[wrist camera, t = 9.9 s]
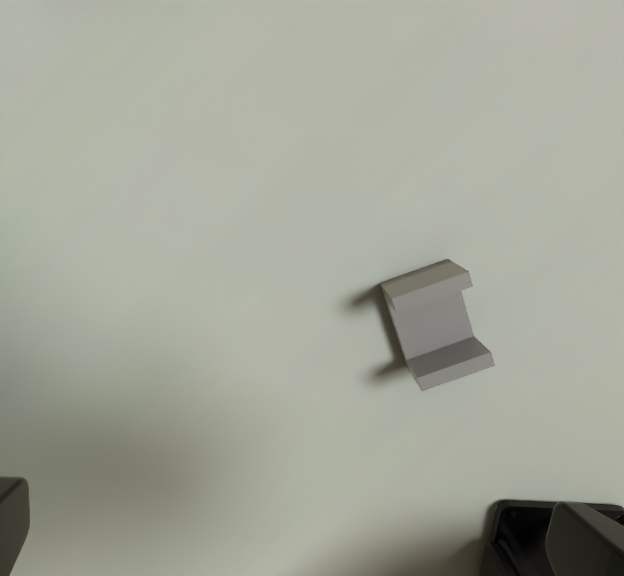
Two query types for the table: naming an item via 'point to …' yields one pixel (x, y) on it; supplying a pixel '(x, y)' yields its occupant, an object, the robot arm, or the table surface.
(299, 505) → the table surface
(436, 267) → the clip
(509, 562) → the robot arm
